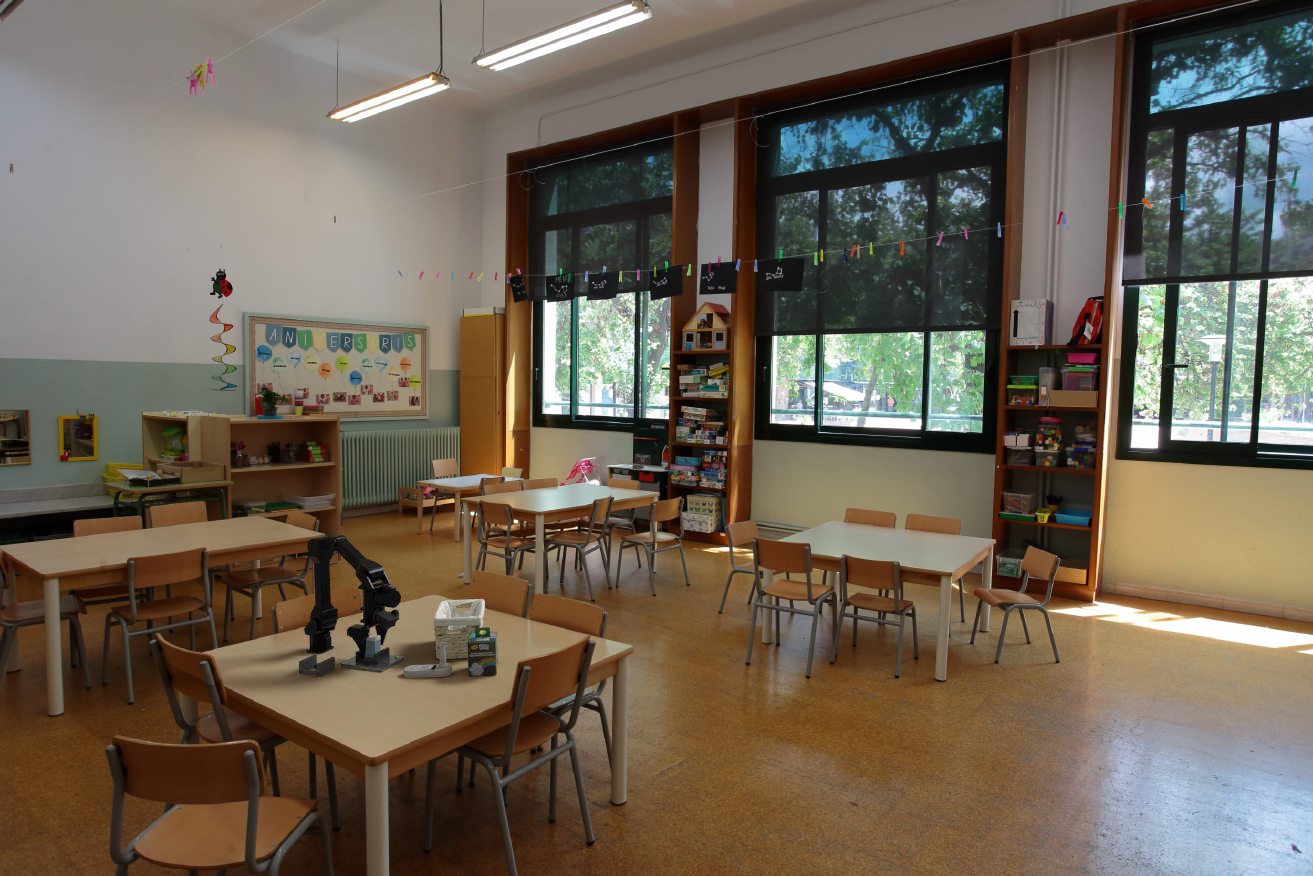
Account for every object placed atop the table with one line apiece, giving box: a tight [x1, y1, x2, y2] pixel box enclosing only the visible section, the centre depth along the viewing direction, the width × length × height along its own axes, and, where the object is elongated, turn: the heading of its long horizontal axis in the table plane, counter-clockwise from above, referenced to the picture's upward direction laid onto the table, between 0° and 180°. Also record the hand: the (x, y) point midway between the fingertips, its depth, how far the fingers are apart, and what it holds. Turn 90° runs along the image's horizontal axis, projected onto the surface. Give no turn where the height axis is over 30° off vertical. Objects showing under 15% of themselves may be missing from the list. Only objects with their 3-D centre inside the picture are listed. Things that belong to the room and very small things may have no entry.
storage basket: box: [433, 598, 486, 660], centre depth 271 cm, size 24×16×15 cm
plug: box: [365, 633, 382, 659], centre depth 256 cm, size 4×3×8 cm
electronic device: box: [403, 644, 453, 679], centre depth 247 cm, size 5×10×15 cm
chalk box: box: [467, 626, 499, 677], centre depth 250 cm, size 9×9×15 cm
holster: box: [298, 653, 336, 678], centre depth 248 cm, size 8×7×4 cm
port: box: [339, 646, 405, 673], centre depth 256 cm, size 16×12×4 cm
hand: (372, 649), depth 256 cm, fingers open, 9 cm apart
